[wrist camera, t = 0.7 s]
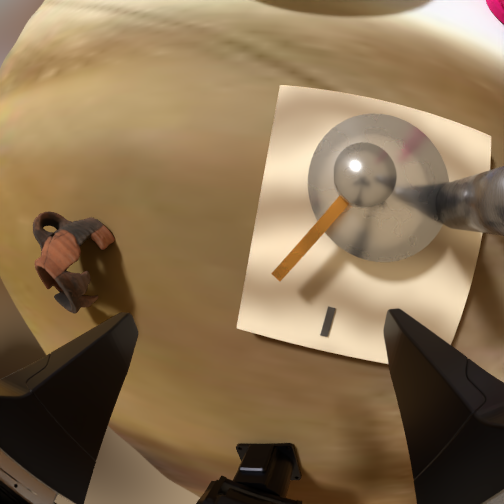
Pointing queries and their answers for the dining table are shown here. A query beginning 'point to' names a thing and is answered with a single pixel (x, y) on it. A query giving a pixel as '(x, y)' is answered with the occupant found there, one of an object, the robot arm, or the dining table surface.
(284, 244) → the stand
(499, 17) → the pepper mill
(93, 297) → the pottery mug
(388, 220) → the shiny grey rounded pieces
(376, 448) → the dining table surface
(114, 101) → the dining table surface
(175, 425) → the dining table surface
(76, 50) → the dining table surface
